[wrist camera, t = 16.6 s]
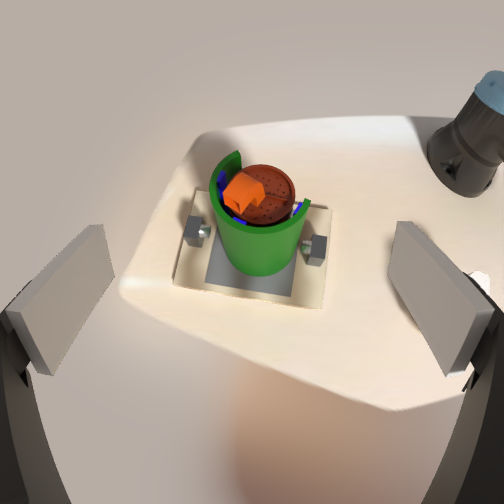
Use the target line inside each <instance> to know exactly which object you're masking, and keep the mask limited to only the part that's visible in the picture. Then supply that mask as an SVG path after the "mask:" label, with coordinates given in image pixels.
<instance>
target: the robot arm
mask: <svg viewBox="0 0 504 504" xmlns="http://www.w3.org/2000/svg"><path fill="white" fill-rule="evenodd" d="M427 154H428V159H429V162H430V164H431V167H432V169H433V170H434V172H435V174H436V175H437V176H438V178H439V179H440V180H441V181H442V182H443V183H444V184H445V185H446V186H447V187H448V188H449V189H451V190H452V191H453V192H455V193H457V194H459V195H461V196H464V197H469V198H473V197H478V196H480V195H481V194H482V193H483V192H484V191H486V190H487V189H488V187H489V186H490V184H491V182H492V179H493V177H494V175H495V173H496V170H497V168H498V166H499V165H500V164H501V163H502V162H504V72H502V71H490V72H488V73H487V74H486V75H485V76H484V77H483V79H482V80H481V81H480V83H478V84H477V85H476V86H475V90H474V92H473V93H472V95H471V96H470V98H469V99H468V101H467V103H466V104H465V105H464V107H463V108H462V110H461V111H460V113H459V114H458V115H457V117H456V118H455V120H454V121H452V122H451V123H449V124H448V125H446V126H445V127H442V128H440V129H438V130H437V131H436V132H435V133H434V134H433V136H432V137H431V139H430V140H429V142H428V145H427ZM387 276H388V277H389V279H390V280H391V282H392V283H393V285H394V287H395V288H396V290H397V292H398V293H399V295H400V297H401V298H402V300H403V301H404V303H405V305H406V307H407V308H408V310H409V312H410V313H411V315H412V317H413V318H414V320H415V322H416V324H417V325H418V327H419V329H420V331H421V332H422V334H423V336H424V338H425V340H426V341H427V343H428V345H429V347H430V349H431V351H432V352H433V354H434V356H435V358H436V360H437V362H438V364H439V366H440V368H441V369H442V371H443V373H444V375H445V377H446V378H448V377H453V376H457V375H462V374H463V373H464V371H465V370H466V368H467V366H468V364H469V362H471V363H472V365H473V367H474V368H475V369H474V371H473V372H472V374H471V376H470V378H469V379H468V381H467V383H466V384H465V386H464V388H463V389H462V391H463V392H464V391H465V390H466V388H467V390H466V394H465V397H464V401H463V404H462V407H461V410H460V413H459V417H458V419H457V422H456V425H455V428H454V430H453V433H452V436H451V439H450V441H449V444H448V446H447V449H446V452H445V454H444V456H443V458H442V461H441V463H440V466H439V468H438V470H437V472H436V474H435V477H434V479H433V481H432V483H431V485H430V487H429V490H428V491H427V493H426V495H425V497H424V499H423V501H422V503H421V504H504V313H503V312H502V310H501V309H500V308H499V307H498V306H497V304H496V303H495V302H494V301H493V300H492V299H491V298H490V296H489V295H488V294H486V292H485V291H484V290H483V289H482V288H481V286H480V285H479V284H478V283H477V282H476V281H475V280H474V279H473V278H472V277H470V276H469V275H467V274H466V273H464V272H462V271H461V270H460V269H459V268H458V267H457V266H456V265H455V264H454V263H453V262H452V261H451V260H450V259H449V258H448V257H447V256H446V255H445V254H444V253H443V252H442V251H441V250H440V248H439V247H438V246H437V245H436V244H435V243H433V242H432V241H431V240H430V239H429V238H428V237H427V236H426V235H425V234H424V233H423V232H422V231H421V230H420V229H419V228H418V227H417V226H416V225H415V224H414V223H413V222H406V221H397V226H396V232H395V238H394V243H393V249H392V254H391V259H390V264H389V269H388V274H387ZM114 277H115V276H114V272H113V268H112V263H111V259H110V255H109V251H108V246H107V241H106V237H105V232H104V227H103V224H102V225H89V226H88V227H87V228H85V229H84V230H83V231H82V232H81V233H80V234H79V235H78V236H77V237H76V238H75V239H73V241H71V242H70V243H69V244H68V245H67V246H66V247H65V248H64V249H63V250H62V251H61V252H60V253H59V254H58V255H57V256H56V257H55V258H54V259H53V260H52V261H51V262H50V263H49V264H48V265H47V266H46V267H45V268H44V269H43V270H42V271H41V272H40V273H39V274H38V275H37V276H36V277H35V278H34V279H33V280H31V281H30V282H28V284H27V285H26V286H25V287H24V288H23V289H22V291H20V292H19V293H18V294H17V296H16V297H15V298H14V299H13V300H12V301H11V302H10V303H9V304H8V305H7V306H6V308H5V309H4V310H3V311H2V312H1V313H0V504H71V502H70V500H69V498H68V495H67V493H66V490H65V488H64V485H63V483H62V481H61V478H60V476H59V473H58V470H57V468H56V465H55V462H54V459H53V457H52V454H51V451H50V448H49V445H48V442H47V438H46V435H45V432H44V429H43V425H42V422H41V419H40V414H39V411H38V407H37V403H36V399H35V394H34V390H33V385H32V381H31V376H30V373H29V371H28V370H27V368H26V367H27V365H28V364H29V362H30V361H31V362H32V364H33V366H34V368H35V369H36V371H37V373H41V374H45V375H50V376H54V374H55V372H56V370H57V368H58V367H59V365H60V363H61V361H62V360H63V358H64V356H65V355H66V353H67V351H68V349H69V348H70V346H71V344H72V343H73V341H74V339H75V338H76V336H77V334H78V332H79V331H80V330H81V328H82V326H83V324H84V323H85V321H86V320H87V318H88V317H89V315H90V314H91V312H92V311H93V309H94V307H95V306H96V304H97V303H98V301H99V300H100V298H101V297H102V295H103V294H104V292H105V291H106V289H107V288H108V286H109V285H110V283H111V282H112V280H113V279H114Z"/></svg>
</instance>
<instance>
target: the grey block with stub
mask: <svg viewBox="0 0 504 504" xmlns="http://www.w3.org/2000/svg"><path fill="white" fill-rule="evenodd" d="M326 247H327V236H321V235H315V234H313V235H312V237H311V240H310V241H308V240H302V244H301V253H304V254H307V262H306V265H310V266H317V267H320V266H321V265H322V263H323V262H324V260H325V256H326Z"/></svg>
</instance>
